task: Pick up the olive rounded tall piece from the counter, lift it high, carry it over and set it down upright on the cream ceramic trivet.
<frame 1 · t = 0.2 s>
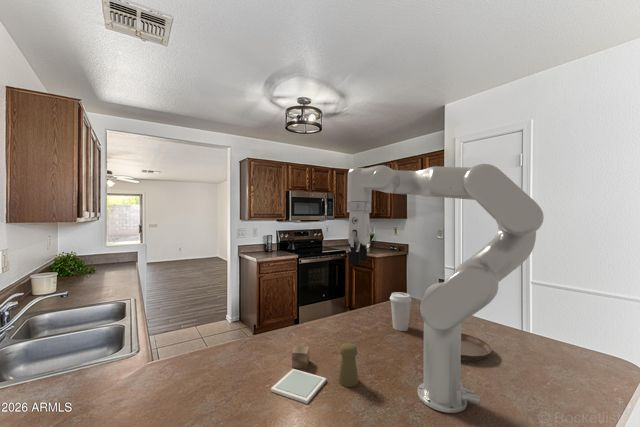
hand: (358, 262, 91), 36 cm above the counter, tool pointing down, fingers open, 9 cm apart
plant saucer: (459, 351, 109), on the counter
trivet: (299, 385, 86), on the counter
olive rounded tall piece: (348, 381, 88), on the counter
walnut block: (300, 364, 98), on the counter
coffee cup: (400, 328, 129), on the counter
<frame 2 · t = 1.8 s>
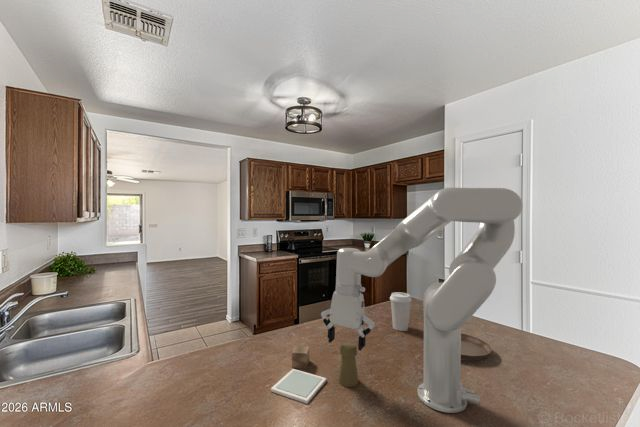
hand: (345, 344, 89), 11 cm above the counter, tool pointing down, fingers open, 9 cm apart
nothing on the counter moved.
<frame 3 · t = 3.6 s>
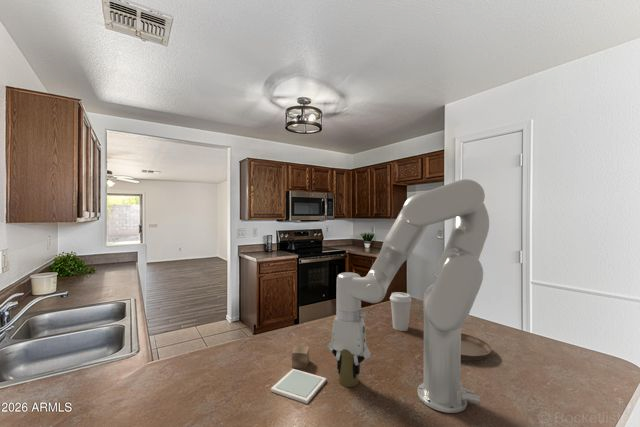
hand: (348, 373, 88), 2 cm above the counter, tool pointing down, fingers closed on olive rounded tall piece, 4 cm apart
olive rounded tall piece: (348, 381, 88), on the counter, touching gripper
everything else where it was.
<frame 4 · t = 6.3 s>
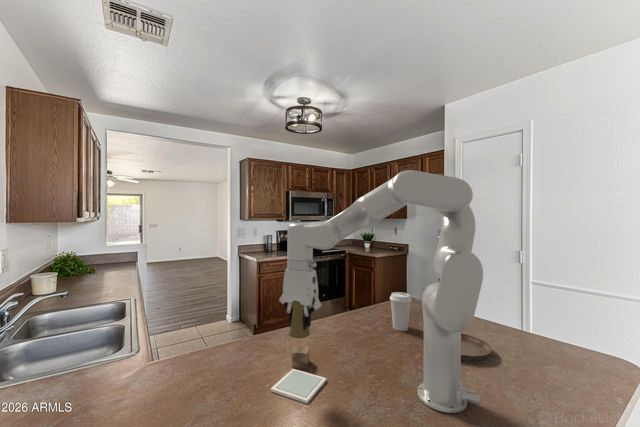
hand: (299, 326, 86), 18 cm above the counter, tool pointing down, fingers closed on olive rounded tall piece, 4 cm apart
olive rounded tall piece: (299, 334, 86), point 15 cm above the counter, touching gripper
everything else where it was.
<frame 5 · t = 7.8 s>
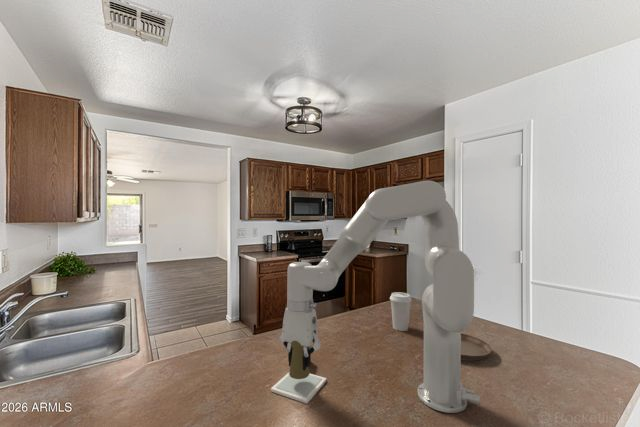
hand: (299, 365, 86), 6 cm above the counter, tool pointing down, fingers closed on olive rounded tall piece, 4 cm apart
olive rounded tall piece: (299, 374, 86), point 4 cm above the counter, touching gripper
everything else where it was.
when the fingers open (4 cm above the counter, at t = 8.8 s): olive rounded tall piece drops 1 cm, resting on trivet.
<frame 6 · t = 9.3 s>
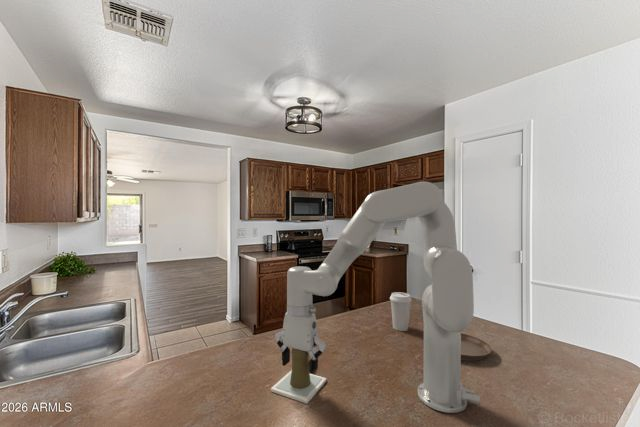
hand: (299, 367, 86), 5 cm above the counter, tool pointing down, fingers open, 9 cm apart
olive rounded tall piece: (300, 383, 86), point 1 cm above the counter, touching trivet
everything else where it was.
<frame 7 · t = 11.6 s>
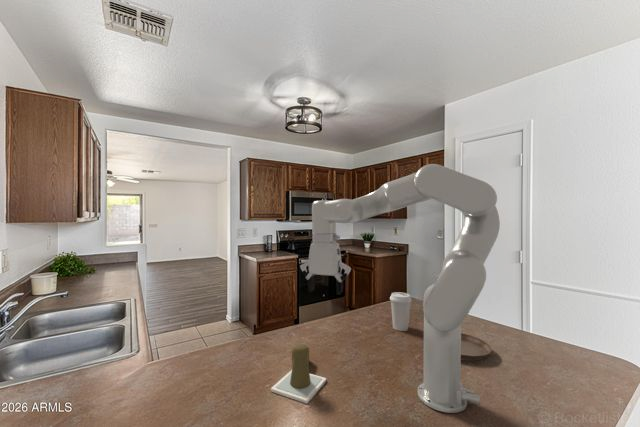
hand: (325, 292, 93), 26 cm above the counter, tool pointing down, fingers open, 9 cm apart
nothing on the counter moved.
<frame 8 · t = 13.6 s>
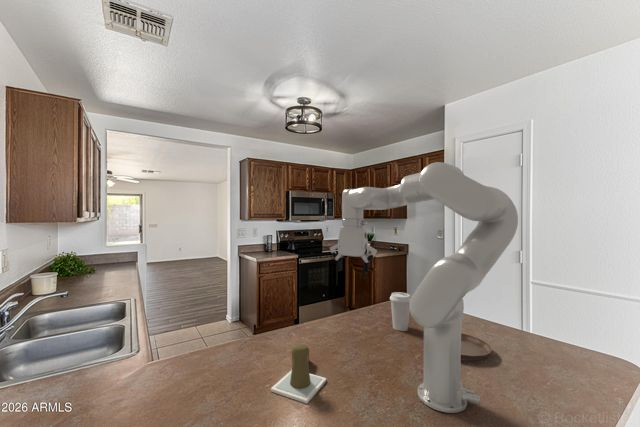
hand: (352, 272, 103), 30 cm above the counter, tool pointing down, fingers open, 9 cm apart
nothing on the counter moved.
at the end: olive rounded tall piece 0.3 cm from the trivet (horizontally); olive rounded tall piece tilted 0°; the gripper is holding nothing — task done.
